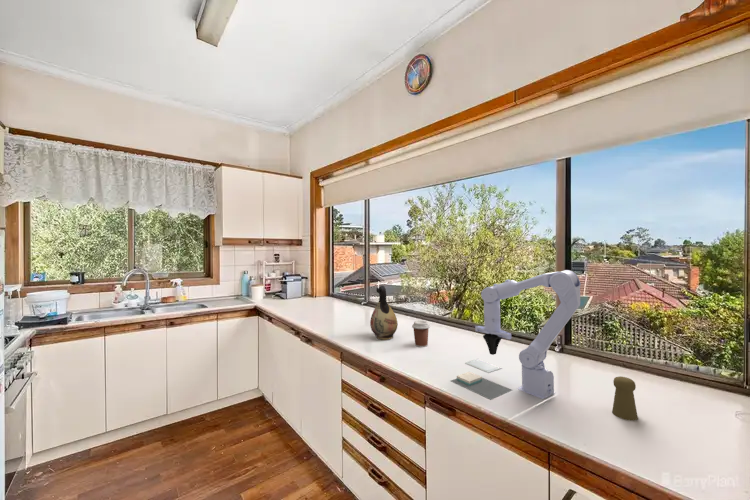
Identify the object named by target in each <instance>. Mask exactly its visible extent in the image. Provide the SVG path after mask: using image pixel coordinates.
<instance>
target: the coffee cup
mask: <svg viewBox="0 0 750 500" xmlns="http://www.w3.org/2000/svg"><path fill="white" fill-rule="evenodd" d="M430 327H431V326H430V324H429V323H428V321H426V320H415V321H414V322H413V324H412V327H411V328H412V329H413V338H414V346H415V347H418V348H426V347H428V346H429V345H428V342H429V329H430Z"/></svg>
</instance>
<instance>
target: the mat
mask: <svg viewBox="0 0 750 500" xmlns="http://www.w3.org/2000/svg"><path fill="white" fill-rule="evenodd" d="M450 382H452V383H453V384H455V385H458V386H460V387H462V388H465V389H467V390H468V391H471V392H473V393H475V394H476V395H477V394H478V395H480V396H482V397H484V398H486V399H488V400H490V401H491V400H494V399H496V398H498V397H500V396H502V395H505V394H507V393H509V392H511V391H513V389H511V388H510V387H506V386H504V385H501V384H499V383H497V382H494V381H492V380H490V379H487V378H484V377H482V381H481V382H478V383H476V384H473V385H470V386H469V385H466V384H464V383H462V382H460V381H458V380H457V377H456V378H454V379H451V380H450Z"/></svg>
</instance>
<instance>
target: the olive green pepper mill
mask: <svg viewBox="0 0 750 500" xmlns="http://www.w3.org/2000/svg"><path fill="white" fill-rule="evenodd" d="M612 381H613V382H612V383H613V386H614V388H615V392H614V396H613V397H614V398H613V404H612V411H611V412H612V415H614V416H615V417H617V418H619V419H622V420H625V421H631V422H632V421H634V422H635V421H637V420H638V419H639V417H638V413H637V412H638V411H637V406H636V399H635V395H634V391H636V388H637V387H636V382H635V381H634V380H633V379H632V378H630V377H628V376H627V377H626V376H615V377H614V378H613V380H612Z"/></svg>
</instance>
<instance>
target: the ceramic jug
mask: <svg viewBox="0 0 750 500" xmlns="http://www.w3.org/2000/svg"><path fill="white" fill-rule="evenodd" d="M375 290H376V293H377V294H378V295H379V298H378V302H377V304H376V306H375V307H374V309H373V311H372V313H371V317H370V321H369V326H370V329H371V332H372V333H373V335H375V336H376V338H377V339H378V340H381V341H382V340H383V341H387V340H390V339H393V338H394V334H395V333H396V332H397V329H398V320H397V315H396V313H395V312H394V310H393V309H392V307H391V306H390V304H389V303H388V302H387V291H386V287H385V286H384V285H380V286H378V287H376V289H375Z"/></svg>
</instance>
